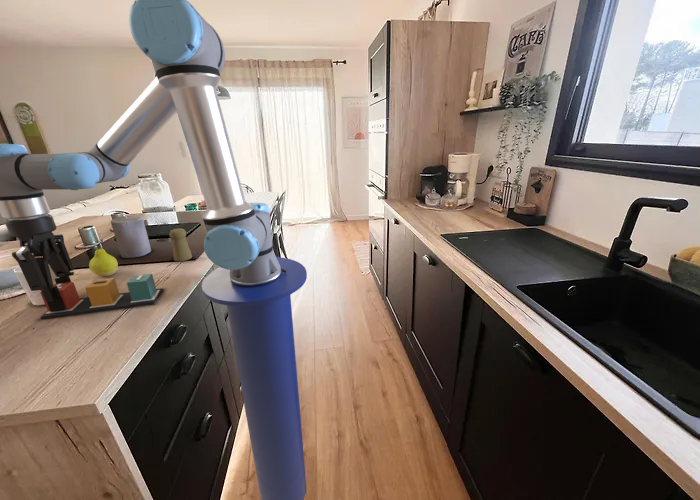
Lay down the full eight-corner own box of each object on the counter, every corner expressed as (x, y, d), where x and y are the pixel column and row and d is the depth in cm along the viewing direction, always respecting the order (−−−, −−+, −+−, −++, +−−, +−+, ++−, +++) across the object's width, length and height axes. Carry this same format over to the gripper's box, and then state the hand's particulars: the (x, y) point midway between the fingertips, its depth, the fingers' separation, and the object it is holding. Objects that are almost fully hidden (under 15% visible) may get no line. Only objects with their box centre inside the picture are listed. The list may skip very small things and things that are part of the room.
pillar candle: (119, 253, 110) (107, 215, 104) (149, 247, 116) (139, 210, 110) (122, 260, 103) (110, 220, 98) (154, 253, 109) (144, 215, 104)
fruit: (89, 281, 88) (76, 244, 83) (97, 272, 93) (85, 238, 89) (117, 277, 90) (105, 241, 86) (123, 269, 96) (112, 235, 92)
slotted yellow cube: (120, 295, 78) (114, 276, 76) (112, 304, 74) (106, 284, 72) (100, 298, 77) (94, 279, 75) (92, 306, 73) (84, 286, 71)
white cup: (61, 289, 83) (48, 257, 79) (75, 295, 80) (62, 262, 76) (23, 302, 76) (7, 268, 73) (36, 309, 73) (20, 274, 69)
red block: (80, 300, 76) (73, 281, 74) (70, 309, 72) (62, 289, 70) (59, 302, 75) (51, 283, 73) (48, 311, 71) (39, 291, 69)
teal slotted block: (156, 291, 81) (152, 272, 79) (151, 298, 77) (146, 279, 75) (138, 293, 80) (133, 274, 78) (132, 301, 76) (126, 282, 74)
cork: (170, 258, 104) (163, 229, 101) (187, 253, 109) (181, 226, 105) (178, 262, 101) (172, 232, 97) (195, 257, 106) (189, 228, 102)
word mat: (163, 289, 83) (162, 287, 83) (154, 304, 76) (153, 301, 75) (61, 302, 76) (60, 300, 76) (41, 319, 69) (40, 316, 69)
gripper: (34, 209, 72) (67, 291, 80) (-28, 228, 56) (21, 327, 64) (70, 207, 74) (99, 287, 82) (20, 225, 58) (62, 322, 66)
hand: (64, 304), depth 73 cm, fingers closed on red block, 4 cm apart
